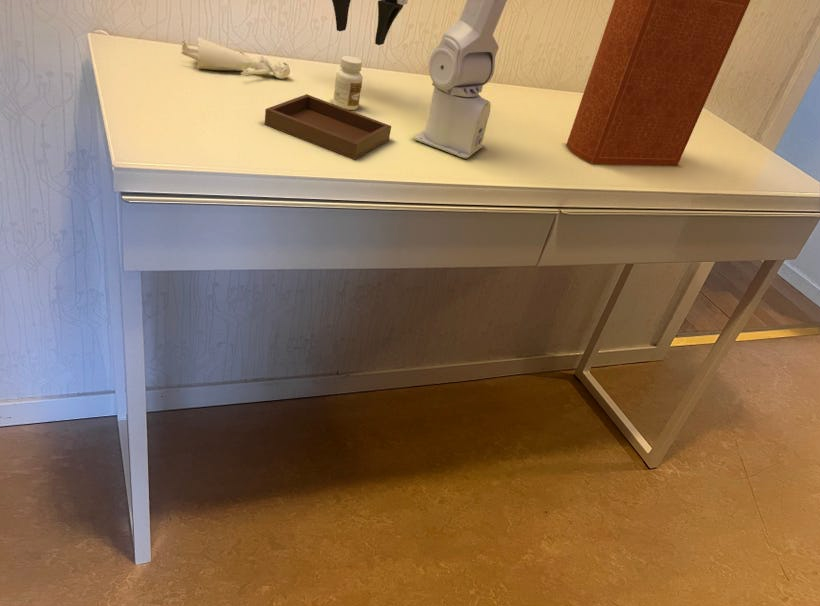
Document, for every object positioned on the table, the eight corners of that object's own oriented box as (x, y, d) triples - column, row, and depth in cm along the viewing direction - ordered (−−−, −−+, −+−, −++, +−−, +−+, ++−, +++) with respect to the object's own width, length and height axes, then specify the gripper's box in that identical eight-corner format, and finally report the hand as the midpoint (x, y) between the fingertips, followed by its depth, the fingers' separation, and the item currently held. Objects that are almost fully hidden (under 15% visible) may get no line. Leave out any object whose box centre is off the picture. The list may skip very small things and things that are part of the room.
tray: (389, 140, 111) (391, 125, 110) (354, 159, 102) (356, 144, 101) (305, 108, 114) (306, 93, 113) (264, 124, 105) (265, 108, 104)
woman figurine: (183, 25, 119) (289, 49, 126) (181, 51, 122) (285, 74, 129) (181, 45, 111) (294, 70, 118) (179, 73, 113) (290, 96, 120)
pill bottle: (354, 112, 118) (360, 65, 113) (329, 105, 118) (335, 58, 113) (361, 105, 121) (368, 60, 117) (337, 98, 121) (343, 52, 117)
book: (650, 148, 140) (717, -15, 123) (677, 165, 135) (751, -2, 117) (561, 144, 129) (620, -35, 112) (587, 164, 124) (653, -21, 106)
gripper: (321, -64, 111) (312, 26, 119) (401, -37, 108) (386, 53, 116) (342, -64, 117) (332, 22, 125) (419, -39, 114) (404, 47, 122)
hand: (360, 37), depth 121 cm, fingers open, 7 cm apart
